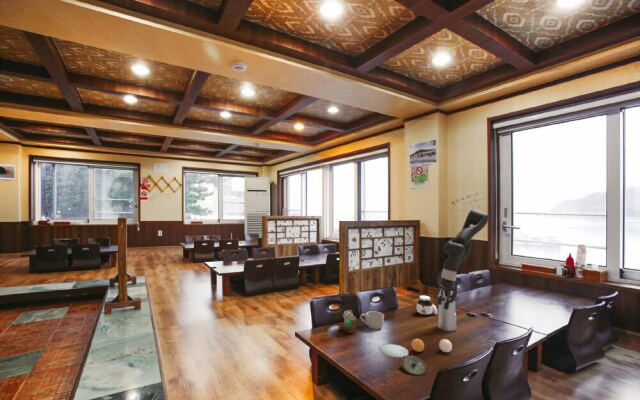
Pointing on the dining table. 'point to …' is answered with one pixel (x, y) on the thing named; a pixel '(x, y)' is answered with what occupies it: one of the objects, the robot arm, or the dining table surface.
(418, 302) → the spread jar
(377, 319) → the teacup
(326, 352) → the dining table surface
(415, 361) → the lid
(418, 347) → the object ball
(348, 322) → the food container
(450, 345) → the cue ball
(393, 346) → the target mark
